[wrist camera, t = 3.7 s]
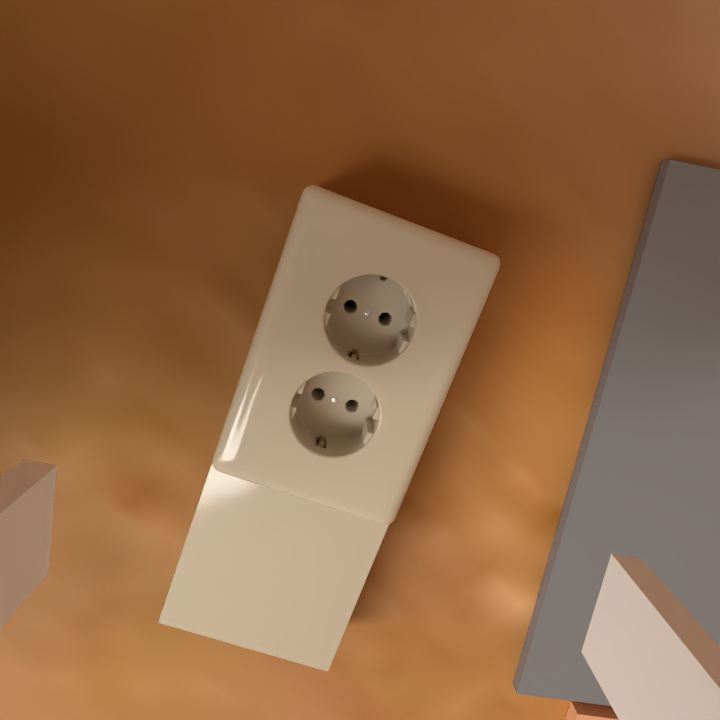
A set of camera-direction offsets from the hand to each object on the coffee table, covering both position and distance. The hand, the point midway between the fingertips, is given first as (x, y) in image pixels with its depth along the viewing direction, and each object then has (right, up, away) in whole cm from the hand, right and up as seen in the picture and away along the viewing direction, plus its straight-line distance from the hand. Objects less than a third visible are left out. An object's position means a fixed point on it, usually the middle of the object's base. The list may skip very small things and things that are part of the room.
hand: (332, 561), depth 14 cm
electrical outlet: (-1, +2, +12) cm, 12 cm away
